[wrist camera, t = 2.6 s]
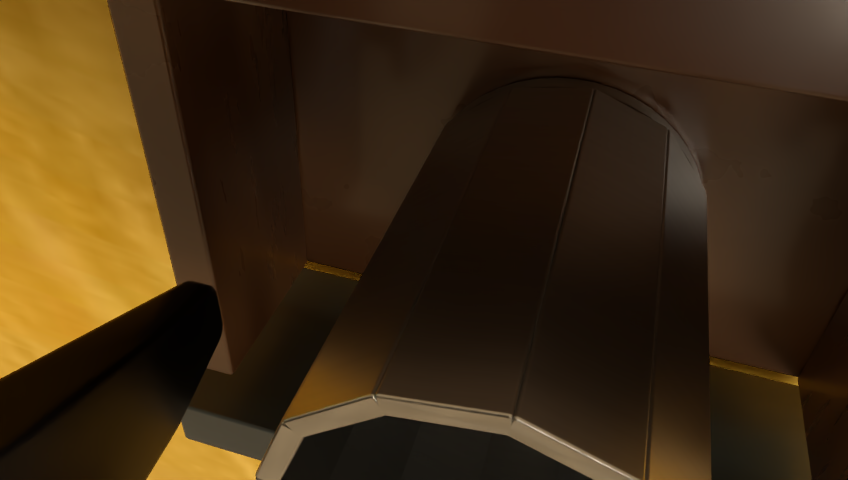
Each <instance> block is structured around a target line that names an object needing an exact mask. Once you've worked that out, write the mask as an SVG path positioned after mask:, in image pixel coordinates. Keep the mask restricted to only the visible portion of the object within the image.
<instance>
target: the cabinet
mask: <svg viewBox="0 0 848 480" xmlns="http://www.w3.org/2000/svg"><path fill="white" fill-rule="evenodd" d="M224 1H231V2H237V3H243V4H249V5H255V6H261V7H267V8H274V9H280V10H286V11H292V12H298V13H304V14H310V15H317V16H323V17H329V18H335V19H341V20H347V21H353V22H360V23H366V24H372V25H378V26H384V27H390V28H396V29H403V30H409V31H415V32H421V33H427V34H433V35H439V36H446V37H452V38H458V39H464V40H470V41H476V42H482V43H489V44H495V45H501V46H507V47H513V48H519V49H525V50H532V51H538V52H544V53H550V54H556V55H562V56H568V57H575V58H581V59H587V60H593V61H599V62H605V63H611V64H618V65H624V66H630V67H636V68H642V69H648V70H654V71H661V72H667V73H673V74H679V75H685V76H691V77H697V78H704V79H710V80H716V81H722V82H728V83H734V84H740V85H747V86H753V87H759V88H765V89H771V90H777V91H783V92H790V93H796V94H802V95H808V96H814V97H820V98H826V99H833V100H839V101H845V102H848V0H224Z"/></svg>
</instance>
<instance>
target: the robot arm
mask: <svg viewBox="0 0 848 480" xmlns="http://www.w3.org/2000/svg"><path fill="white" fill-rule="evenodd" d="M222 331H223V321H222V316H221V311H220V306H219V301H218V296H217V292H216V290H215V289H214V287H213V286H211V285H207V284H203V283H199V282H195V281H186V282H183V283H181V284H179V285H177V286H175V287H173V288H172V289H170V290H168V291H166V292H164V293H162V294H160V295H158V296H156V297H155V298H153V299H151V300H149V301H147V302H145V303H143V304H141V305H139V306H137V307H136V308H134V309H132V310H130V311H128V312H126V313H124V314H122V315H120V316H119V317H117V318H115V319H113V320H111V321H109V322H107V323H105V324H103V325H101V326H100V327H98V328H96V329H94V330H92V331H90V332H88V333H86V334H84V335H83V336H81V337H79V338H77V339H75V340H73V341H71V342H69V343H67V344H65V345H64V346H62V347H60V348H58V349H56V350H54V351H52V352H50V353H48V354H47V355H45V356H43V357H41V358H39V359H37V360H35V361H33V362H31V363H29V364H28V365H26V366H24V367H22V368H20V369H18V370H16V371H14V372H12V373H11V374H9V375H7V376H5V377H3V378H1V379H0V480H146V479H147V477H148V476H149V474H150V472H151V471H152V469H153V467H154V466H155V464H156V463H157V461H158V459H159V458H160V456H161V454H162V453H163V451H164V450H165V448H166V446H167V445H168V443H169V441H170V440H171V438H172V436H173V435H174V433H175V431H176V430H177V428H178V426H179V424H180V422H181V420H182V418H183V416H184V414H185V412H186V410H187V408H188V406H189V404H190V402H191V400H192V398H193V396H194V394H195V391H196V389H197V387H198V385H199V383H200V381H201V379H202V377H203V375H204V372H205V370H206V368H207V366H208V364H209V362H210V360H211V358H212V356H213V353H214V351H215V349H216V347H217V345H218V343H219V341H220V338H221V335H222ZM846 480H848V478H847V479H846Z"/></svg>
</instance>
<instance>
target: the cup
mask: <svg viewBox="0 0 848 480" xmlns="http://www.w3.org/2000/svg"><path fill="white" fill-rule="evenodd" d="M256 480H711V429H710V368H709V307H708V247H707V195H706V190H705V188H704V187H703V185H702V183H701V179H700V175H699V172H698V168H697V165H696V163H695V161H694V159H693V157H692V155H691V153H690V151H689V149H688V147H687V146H686V144H685V143H684V141H683V140H682V138H681V137H680V136H679V134H678V133H677V132H676V131H675V130H674V129H673V128H672V127H671V125H670V124H669V123H668V122H667V121H666V120H665V119H664V118H662V117H661V116H660V115H659V114H657V113H656V112H655V111H654V110H653V109H651V108H650V107H648V106H647V105H645V104H644V103H642V102H640V101H639V100H637V99H635V98H634V97H632V96H630V95H627V94H625V93H623V92H621V91H619V90H617V89H614V88H611V87H608V86H605V85H601V84H598V83H595V82H589V81H584V80H579V79H569V78H539V79H532V80H526V81H521V82H516V83H513V84H509V85H506V86H503V87H500V88H497V89H495V90H493V91H491V92H489V93H487V94H485V95H483V96H481V97H480V98H478V99H476V100H475V101H473V102H472V103H470V104H469V105H468V106H466V107H465V108H464V109H463V110H462V111H461V112H460V113H458V114H457V115H456V116H455V117H454V119H452V120H450V121H449V122H448V123H447V124H446V125H445V127H444V128H443V130H442V132H441V134H440V136H439V137H438V139H437V141H436V143H435V145H434V146H433V148H432V150H431V152H430V154H429V155H428V157H427V159H426V161H425V163H424V164H423V166H422V168H421V170H420V172H419V173H418V175H417V177H416V179H415V181H414V182H413V184H412V186H411V188H410V190H409V191H408V193H407V195H406V197H405V199H404V200H403V202H402V204H401V206H400V208H399V209H398V211H397V213H396V215H395V217H394V218H393V220H392V222H391V224H390V226H389V227H388V229H387V231H386V233H385V235H384V236H383V238H382V240H381V242H380V244H379V245H378V247H377V249H376V251H375V253H374V254H373V256H372V258H371V260H370V262H369V263H368V265H367V267H366V269H365V271H364V272H363V274H362V276H361V278H360V280H359V281H358V283H357V285H356V287H355V289H354V290H353V292H352V294H351V296H350V298H349V299H348V301H347V303H346V305H345V307H344V308H343V310H342V312H341V314H340V316H339V317H338V319H337V321H336V323H335V325H334V326H333V328H332V330H331V332H330V334H329V335H328V337H327V339H326V341H325V343H324V344H323V346H322V348H321V350H320V352H319V353H318V355H317V357H316V359H315V361H314V362H313V364H312V366H311V368H310V370H309V371H308V373H307V375H306V377H305V379H304V380H303V382H302V384H301V386H300V388H299V389H298V391H297V393H296V395H295V397H294V398H293V400H292V402H291V404H290V406H289V407H288V409H287V411H286V413H285V415H284V416H283V418H282V420H281V422H280V424H279V426H278V428H277V430H276V432H275V434H274V436H273V438H272V441H271V443H270V445H269V447H268V449H267V451H266V453H265V455H264V457H263V459H262V461H261V463H260V466H259V468H258V470H257V472H256Z"/></svg>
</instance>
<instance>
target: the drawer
mask: <svg viewBox="0 0 848 480" xmlns="http://www.w3.org/2000/svg"><path fill="white" fill-rule="evenodd" d="M107 3H108V7H109V11H110V15H111V19H112V23H113V27H114V31H115V35H116V39H117V43H118V47H119V51H120V56H121V60H122V64H123V68H124V72H125V76H126V80H127V84H128V88H129V92H130V96H131V100H132V104H133V108H134V112H135V117H136V121H137V125H138V129H139V133H140V137H141V141H142V145H143V149H144V153H145V157H146V161H147V165H148V169H149V173H150V178H151V182H152V186H153V190H154V194H155V198H156V202H157V206H158V210H159V214H160V218H161V222H162V226H163V230H164V234H165V239H166V243H167V247H168V251H169V255H170V259H171V263H172V267H173V271H174V275H175V279H176V283H177V285H179V284H181V283H183V282H186V281H195V282H199V283H203V284H207V285H211V286H213V287H214V289H215V290H216V292H217V296H218V301H219V306H220V311H221V316H222V321H223V331H222V335H221V338H220V341H219V343H218V345H217V347H216V349H215V351H214V353H213V356H212V358H211V360H210V362H209V364H208V366H207V368H206V370H205V372H204V375H203V377H202V379H201V381H200V383H199V385H198V387H197V389H196V391H195V394H194V396H193V398H192V400H191V402H190V404H189V406H188V408H187V410H186V412H185V414H184V416H183V418H182V420H181V422H182V425H183V429H184V432H185V436H186V437H187V438H188V439H191V440H194V441H198V442H201V443H204V444H208V445H211V446H214V447H218V448H221V449H224V450H228V451H231V452H234V453H238V454H241V455H244V456H247V457H251V458H254V459H257V460H261V461H262V459H263V457H264V455H265V453H266V451H267V449H268V447H269V445H270V443H271V441H272V438H273V436H274V434H275V432H276V430H277V428H278V426H279V424H280V422H281V420H282V418H283V416H284V415H285V413H286V411H287V409H288V407H289V406H290V404H291V402H292V400H293V398H294V397H295V395H296V393H297V391H298V389H299V388H300V386H301V384H302V382H303V380H304V379H305V377H306V375H307V373H308V371H309V370H310V368H311V366H312V364H313V362H314V361H315V359H316V357H317V355H318V353H319V352H320V350H321V348H322V346H323V344H324V343H325V341H326V339H327V337H328V335H329V334H330V332H331V330H332V328H333V326H334V325H335V323H336V321H337V319H338V317H339V316H340V314H341V312H342V310H343V308H344V307H345V305H346V303H347V301H348V299H349V298H350V296H351V294H352V292H353V290H354V289H355V287H356V285H357V283H358V281H357V280H353V279H349V278H345V277H341V276H336V275H332V274H328V273H324V272H320V271H316V270H311V269H307V268H304V266H305V265H306V263H307V261H311V262H315V263H319V264H323V265H328V266H332V267H336V268H340V269H345V270H349V271H353V272H357V273H361V274H363V272H364V271H365V269H366V267H367V265H368V263H369V262H370V260H371V258H372V256H373V254H374V253H375V251H376V249H377V247H378V245H379V244H380V242H381V240H382V238H383V236H384V235H385V233H386V231H387V229H388V227H389V226H390V224H391V222H392V220H393V218H394V217H395V215H396V213H397V211H398V209H399V208H400V206H401V204H402V202H403V200H404V199H405V197H406V195H407V193H408V191H409V190H410V188H411V186H412V184H413V182H414V181H415V179H416V177H417V175H418V173H419V172H420V170H421V168H422V166H423V164H424V163H425V161H426V159H427V157H428V155H429V154H430V152H431V150H432V148H433V146H434V145H435V143H436V141H437V139H438V137H439V136H440V134H441V132H442V130H443V128H444V127H445V125H446V124H447V123H448V122H449V121H450V120H452V119H454V117H455V116H456V115H457V114H458V113H460V112H461V111H462V110H463V109H464V108H465V107H466V106H468V105H469V104H470V103H472V102H473V101H475V100H476V99H478V98H480V97H481V96H483V95H485V94H487V93H489V92H491V91H493V90H495V89H497V88H500V87H503V86H506V85H509V84H513V83H516V82H521V81H526V80H532V79H539V78H569V79H579V80H584V81H589V82H595V83H598V84H601V85H605V86H608V87H611V88H614V89H617V90H619V91H621V92H623V93H625V94H627V95H630V96H632V97H634V98H635V99H637V100H639V101H640V102H642V103H644V104H645V105H647V106H648V107H650V108H651V109H653V110H654V111H655V112H656V113H657V114H659V115H660V116H661V117H662V118H664V119H665V120H666V121H667V122H668V123H669V124H670V125H671V127H672V128H673V129H674V130H675V131H676V132H677V133H678V134H679V136H680V137H681V138H682V140H683V141H684V143H685V144H686V146H687V147H688V149H689V151H690V153H691V155H692V157H693V159H694V161H695V163H696V165H697V168H698V172H699V175H700V179H701V183H702V185H703V187H704V188H705V190H706V195H707V247H708V307H709V356H711V357H716V358H720V359H724V360H728V361H732V362H737V363H741V364H745V365H749V366H754V367H758V368H762V369H766V370H770V371H775V372H779V373H783V374H787V375H792V376H796V377H798V385H799V386H796V385H792V384H787V383H783V382H779V381H775V380H771V379H766V378H762V377H758V376H754V375H750V374H746V373H741V372H737V371H733V370H729V369H725V368H721V367H716V366H712V365H709V368H710V429H711V480H846V479H847V478H848V102H845V101H839V100H833V99H826V98H820V97H814V96H808V95H802V94H796V93H790V92H783V91H777V90H771V89H765V88H759V87H753V86H747V85H740V84H734V83H728V82H722V81H716V80H710V79H704V78H697V77H691V76H685V75H679V74H673V73H667V72H661V71H654V70H648V69H642V68H636V67H630V66H624V65H618V64H611V63H605V62H599V61H593V60H587V59H581V58H575V57H568V56H562V55H556V54H550V53H544V52H538V51H532V50H525V49H519V48H513V47H507V46H501V45H495V44H489V43H482V42H476V41H470V40H464V39H458V38H452V37H446V36H439V35H433V34H427V33H421V32H415V31H409V30H403V29H396V28H390V27H384V26H378V25H372V24H366V23H360V22H353V21H347V20H341V19H335V18H329V17H323V16H317V15H310V14H304V13H298V12H292V11H286V10H280V9H274V8H267V7H261V6H255V5H249V4H243V3H237V2H231V1H224V0H107Z"/></svg>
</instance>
